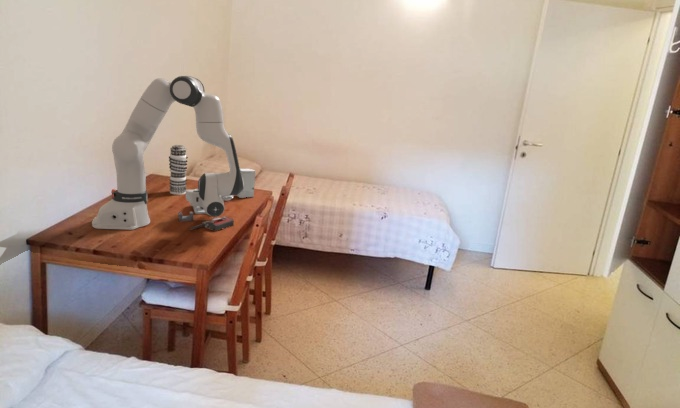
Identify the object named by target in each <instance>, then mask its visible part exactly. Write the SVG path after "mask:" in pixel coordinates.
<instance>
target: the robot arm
mask: <svg viewBox="0 0 680 408" xmlns="http://www.w3.org/2000/svg"><path fill="white" fill-rule="evenodd" d="M174 102H177V103H179V104H180V105H184V106H188V107H190V108H191V107H192V108H193V110H194V112H195V114H194V115H195V128H196V129H195V130H196V132H197V136H198V137H199V138H200V139H201V141H203V142H204V143H207V144H208V145H212V146H215V147H218V148H220V149H222V151H224V152H225V153H226V158H227V161H228V162H227V163H228V167H229V171H228V172H205V173H203V174H201V176H200V177H199V179H198V182H197V184H198V185H197V188H194V189H187V190H186V193H185V200H186V201H187V202H188V203H189V205H190V206H192V207H193V206H198V207H203V209H204V210H205V212H206V213H207V214H206V215H208V216H210V217H213V218H217V217H220V216H221V215H222V214H223V213H224V212H225V201H227V202H228V201H231V200H232V199H234V196H236V195H238V194H240V193H241V192H242V190H243V188H244V182H243V178H242V176H241V172H240V169H241V168H240V163H239V159H238V153H237V150H236V145H235V141H234V138H233V136H232V135H231V134H230V133H228V132H227V130H226V128H225V121H224V111H223V106H222V101H221V99H220V98H219V97H218V96H217V95H215V94H212V93H206V92H205V87H204V84H203V83H202V81H201V80H200V79H199V78H196V77H194V76H191V75H180V76H177V77H175V78H174V79H173V80H172V81H169V80H167V79H165V78H155V79H154V80H152V82H150V84H149V85H148V86H147V87H146V89H145V90H144V92H143V93H142V95H141V96H140V98H139V100H138V101H137V103H136V105H135V107H134V109H133V110H132V112H131V114H130V116H129V119H128V120H127V123H126V124H125V126H124V129H123V130H122V132H121V133H120V134H119V135H118V136H116V138H115V139H114V140H113V143H112V148H111V149H112V155H113V161H114V166H115V171H116V172H115V173H116V188H113V189H111V200H109V201H107V202H106V203H105V204H103V205H102V206H101V207H100V208H98V209H99V210H98V212H97V215H96V216H95V217H94V218H93V219H92V221H91V226H92V227H93V229H96V230H97V229H98V230H128V231H129V230H131V231H132V230H136V229H138V228H142V227H145V226H148V225H149V224H151V219H150V216H149V212H148V207H147V206H148V205H147V204H148V191H147V188H146V187H147V186H146V185H147V181H146V180H147V179H146V177H147V176H146V169H145V164H144V163H145V162H144V161H145V160H144V152H145V151H146V149H147V148H148V146H149V144H150V143H151V140H152V139H153V137H154V135H155V133H156V131H157V130H158V129H159V127H160V124H161V123H162V122H163V119H164V118H165V116H166V114H167V112H168V110H170V108H171V106H172V105H173V103H174Z"/></svg>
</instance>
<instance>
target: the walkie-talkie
mask: <svg viewBox="0 0 680 408" xmlns="http://www.w3.org/2000/svg"><path fill="white" fill-rule="evenodd" d="M234 221H235V219H234V218H231V217H227V216H222V217H220V216H217V217H214V218H211V219H209V220H206V221H202V223H201V224H198V225H195V226H191V227H189V230H190V231H191V230H195V229H199V228H201V227H204V228H205V229H208V228H209V230H210V231H214V230H215V231H214V232H218V231H220V229H222V228H224V229H227V228H226V227H228V228H230V227H233V226H234ZM229 226H230V227H229ZM217 230H218V231H217ZM222 230H223V229H222Z"/></svg>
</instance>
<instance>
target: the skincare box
mask: <svg viewBox="0 0 680 408" xmlns="http://www.w3.org/2000/svg"><path fill="white" fill-rule="evenodd" d="M240 172H241V176H242V178H243V182H244V188H243V190H242V192H241V193H240V194H238V195H235V196H236V197H238V198H239V199H244V198H246V197H247V198H254V195H255V183H256V170H254V169H252V168H240Z"/></svg>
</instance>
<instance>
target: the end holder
mask: <svg viewBox="0 0 680 408" xmlns="http://www.w3.org/2000/svg"><path fill="white" fill-rule="evenodd" d="M192 209H193V213H194V215H208V214H207V213H206V212H205V210H204V209H201V208H200V207H198V206H192Z"/></svg>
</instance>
